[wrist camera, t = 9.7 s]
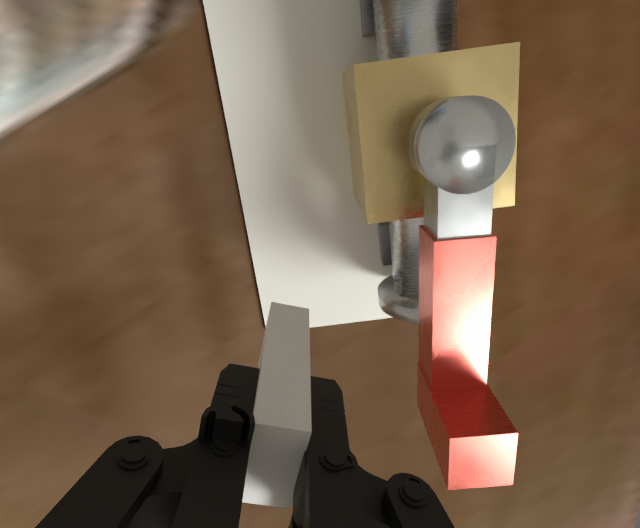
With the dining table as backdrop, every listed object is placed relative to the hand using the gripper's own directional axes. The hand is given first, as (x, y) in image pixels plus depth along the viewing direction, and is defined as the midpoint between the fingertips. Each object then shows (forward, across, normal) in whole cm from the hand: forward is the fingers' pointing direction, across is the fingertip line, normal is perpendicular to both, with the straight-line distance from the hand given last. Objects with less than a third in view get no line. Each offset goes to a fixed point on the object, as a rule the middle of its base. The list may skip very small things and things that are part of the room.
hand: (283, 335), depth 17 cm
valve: (+16, +6, +8) cm, 19 cm away
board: (+16, +2, +5) cm, 17 cm away
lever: (+6, +8, +2) cm, 10 cm away
